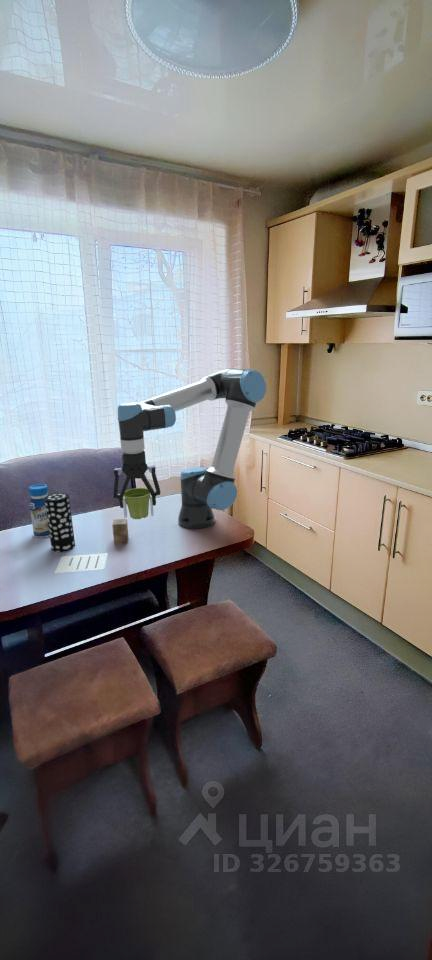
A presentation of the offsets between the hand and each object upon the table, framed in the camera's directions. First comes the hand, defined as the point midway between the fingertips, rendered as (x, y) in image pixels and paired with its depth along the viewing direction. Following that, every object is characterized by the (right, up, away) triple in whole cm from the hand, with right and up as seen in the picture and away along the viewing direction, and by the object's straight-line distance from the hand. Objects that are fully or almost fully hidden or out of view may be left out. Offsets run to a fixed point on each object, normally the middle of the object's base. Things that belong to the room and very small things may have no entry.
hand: (139, 515), depth 149 cm
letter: (-20, -17, 0) cm, 26 cm away
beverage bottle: (-42, -10, +24) cm, 50 cm away
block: (-10, -11, +17) cm, 22 cm away
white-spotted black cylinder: (-30, -13, +12) cm, 35 cm away
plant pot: (0, -1, 0) cm, 1 cm away
